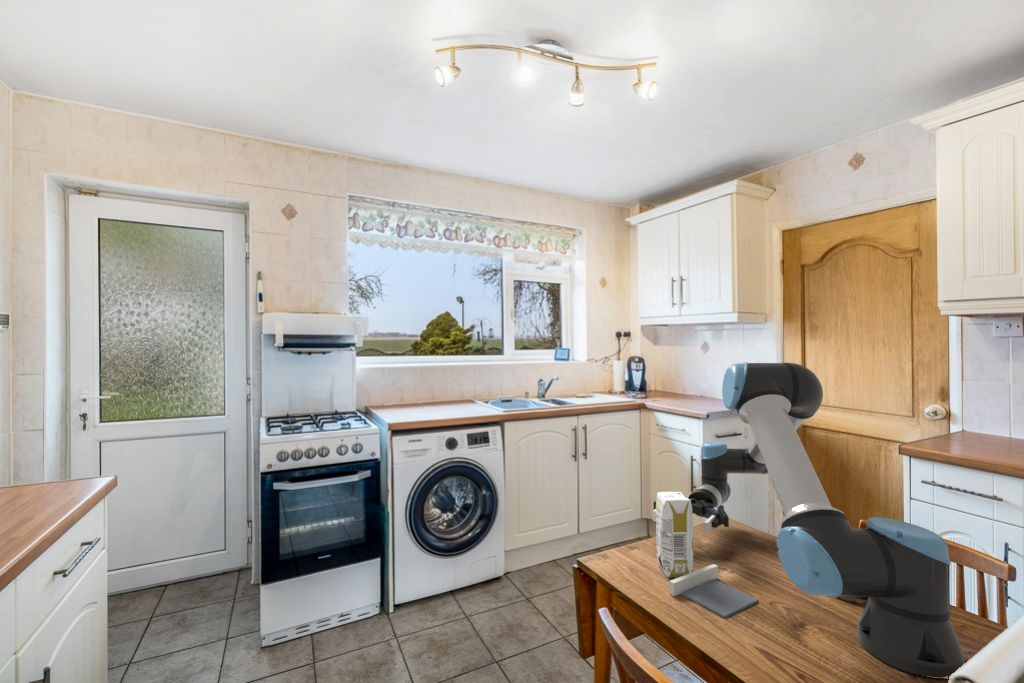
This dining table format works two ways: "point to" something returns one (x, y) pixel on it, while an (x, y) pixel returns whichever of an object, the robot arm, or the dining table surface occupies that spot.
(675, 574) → the juice carton
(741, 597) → the mat
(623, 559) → the dining table surface
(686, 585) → the fence
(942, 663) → the robot arm
